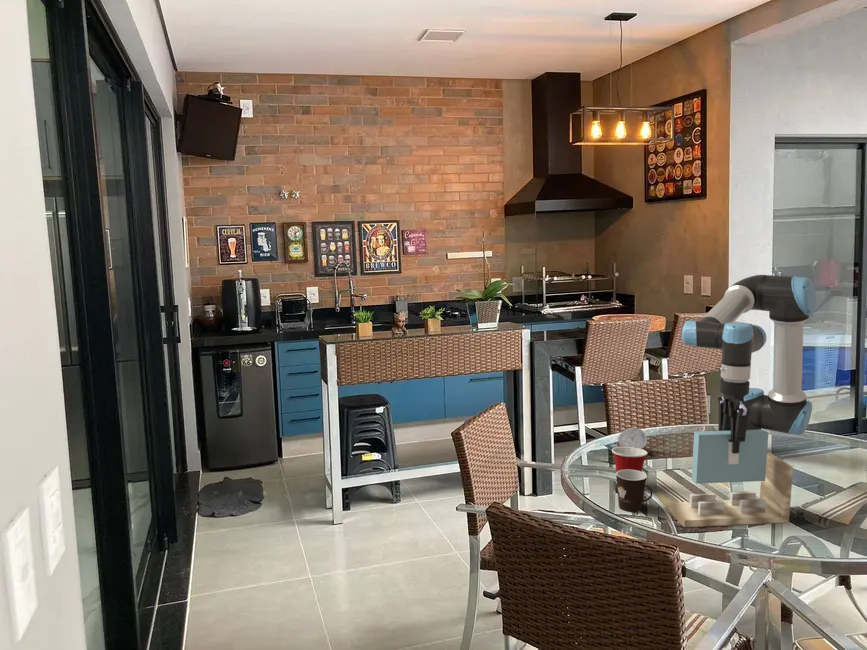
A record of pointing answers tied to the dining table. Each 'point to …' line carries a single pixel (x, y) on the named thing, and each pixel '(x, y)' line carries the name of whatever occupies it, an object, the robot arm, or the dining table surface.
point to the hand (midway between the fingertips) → (729, 461)
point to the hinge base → (742, 502)
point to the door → (714, 457)
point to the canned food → (632, 438)
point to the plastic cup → (629, 458)
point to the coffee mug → (631, 489)
